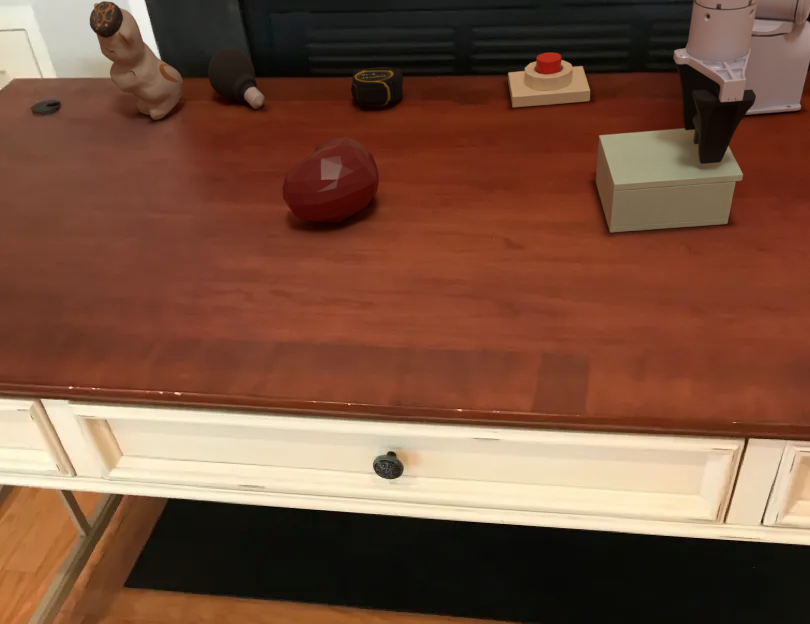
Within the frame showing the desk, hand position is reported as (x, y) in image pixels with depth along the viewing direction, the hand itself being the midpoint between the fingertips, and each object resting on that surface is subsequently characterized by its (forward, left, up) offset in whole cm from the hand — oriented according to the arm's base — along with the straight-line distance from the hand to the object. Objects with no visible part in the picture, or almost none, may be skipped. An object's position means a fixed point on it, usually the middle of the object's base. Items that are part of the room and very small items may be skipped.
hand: (702, 144), depth 93 cm
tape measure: (+36, -33, -6) cm, 49 cm away
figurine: (+67, -34, -6) cm, 75 cm away
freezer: (+4, 0, -6) cm, 7 cm away
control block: (+13, -31, -6) cm, 34 cm away
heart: (+39, -3, -6) cm, 39 cm away
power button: (+13, -31, -3) cm, 34 cm away
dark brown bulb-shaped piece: (+55, -37, -6) cm, 66 cm away
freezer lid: (+3, 0, -1) cm, 4 cm away
